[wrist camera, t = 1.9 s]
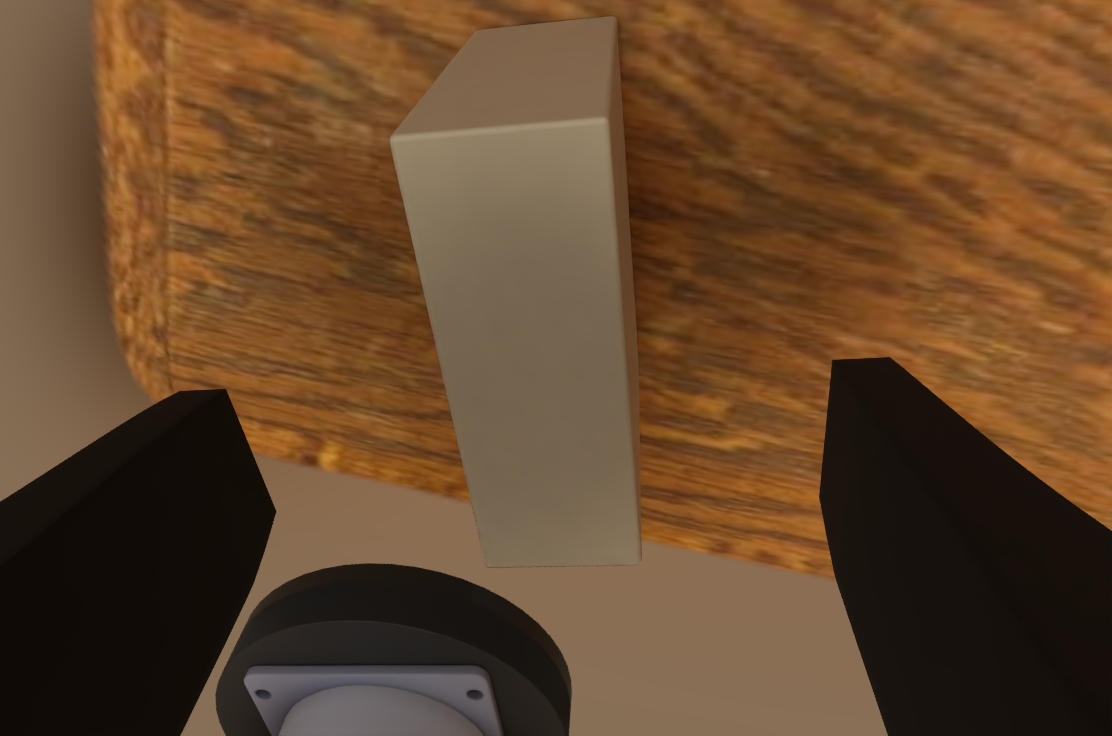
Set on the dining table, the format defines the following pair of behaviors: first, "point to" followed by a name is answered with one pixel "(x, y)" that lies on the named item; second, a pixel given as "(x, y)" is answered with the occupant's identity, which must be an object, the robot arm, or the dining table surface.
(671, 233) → the dining table surface
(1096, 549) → the robot arm
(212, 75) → the dining table surface
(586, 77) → the taupe rectangular block
